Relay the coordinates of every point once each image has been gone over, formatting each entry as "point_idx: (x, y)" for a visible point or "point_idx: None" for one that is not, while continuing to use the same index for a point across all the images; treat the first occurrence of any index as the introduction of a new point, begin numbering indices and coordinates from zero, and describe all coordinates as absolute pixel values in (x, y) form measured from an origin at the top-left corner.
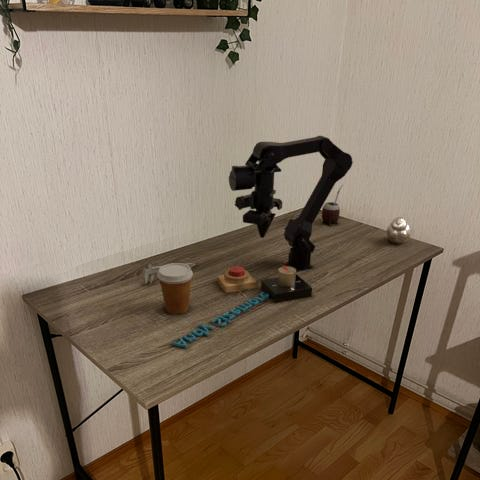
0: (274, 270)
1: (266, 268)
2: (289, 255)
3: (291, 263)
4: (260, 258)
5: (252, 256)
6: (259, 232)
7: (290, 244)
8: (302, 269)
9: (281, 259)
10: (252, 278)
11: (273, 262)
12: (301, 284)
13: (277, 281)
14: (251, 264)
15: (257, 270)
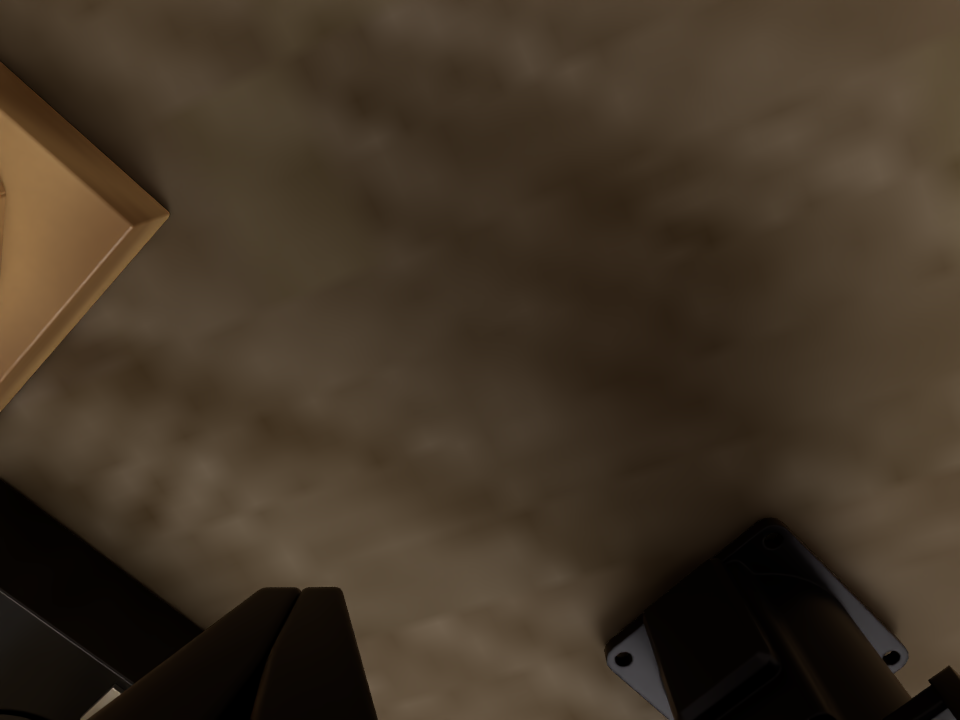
0: (527, 447)
1: (544, 343)
2: (727, 655)
3: (651, 639)
4: (836, 150)
5: (877, 6)
6: (149, 691)
7: (921, 714)
8: (656, 702)
9: (882, 416)
10: None
11: (757, 358)
12: None
13: (9, 700)
14: (589, 111)
15: (438, 262)
